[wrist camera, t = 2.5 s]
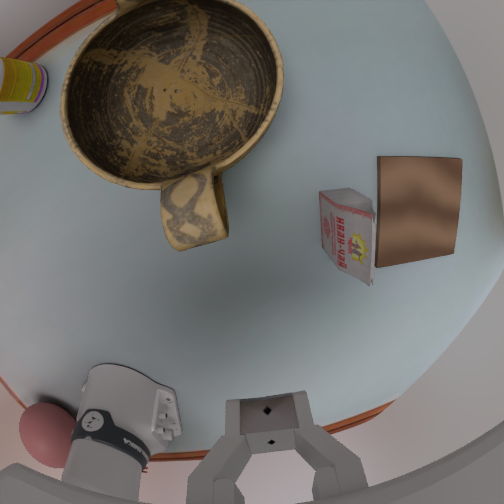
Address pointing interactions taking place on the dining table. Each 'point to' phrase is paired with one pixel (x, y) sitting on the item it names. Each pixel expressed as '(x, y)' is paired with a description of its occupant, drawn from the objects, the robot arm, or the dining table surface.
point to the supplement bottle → (20, 85)
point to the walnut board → (416, 208)
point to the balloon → (47, 433)
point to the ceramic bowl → (173, 104)
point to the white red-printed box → (349, 231)
